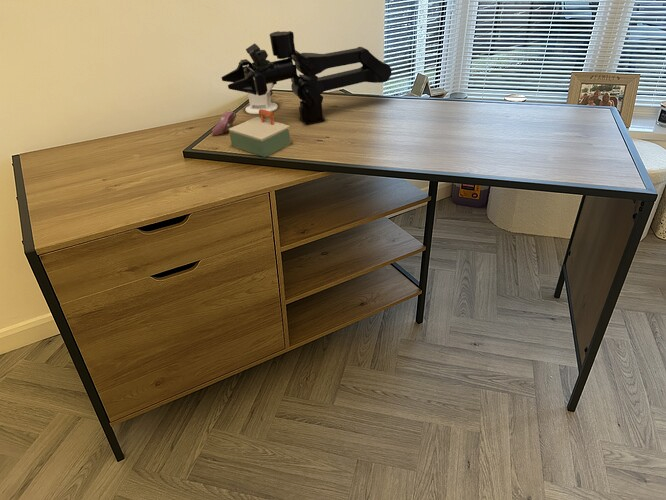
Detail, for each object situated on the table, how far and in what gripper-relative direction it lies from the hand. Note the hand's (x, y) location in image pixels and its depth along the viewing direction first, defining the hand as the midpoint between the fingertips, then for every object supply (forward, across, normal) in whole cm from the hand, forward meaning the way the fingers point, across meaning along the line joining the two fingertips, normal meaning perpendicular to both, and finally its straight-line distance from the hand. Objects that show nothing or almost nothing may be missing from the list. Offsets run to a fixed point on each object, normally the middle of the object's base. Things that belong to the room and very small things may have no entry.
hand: (224, 82), depth 139 cm
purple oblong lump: (+2, -7, +17) cm, 18 cm away
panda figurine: (-14, -21, +17) cm, 30 cm away
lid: (-5, +11, +12) cm, 17 cm away
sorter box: (-5, +11, +17) cm, 20 cm away
